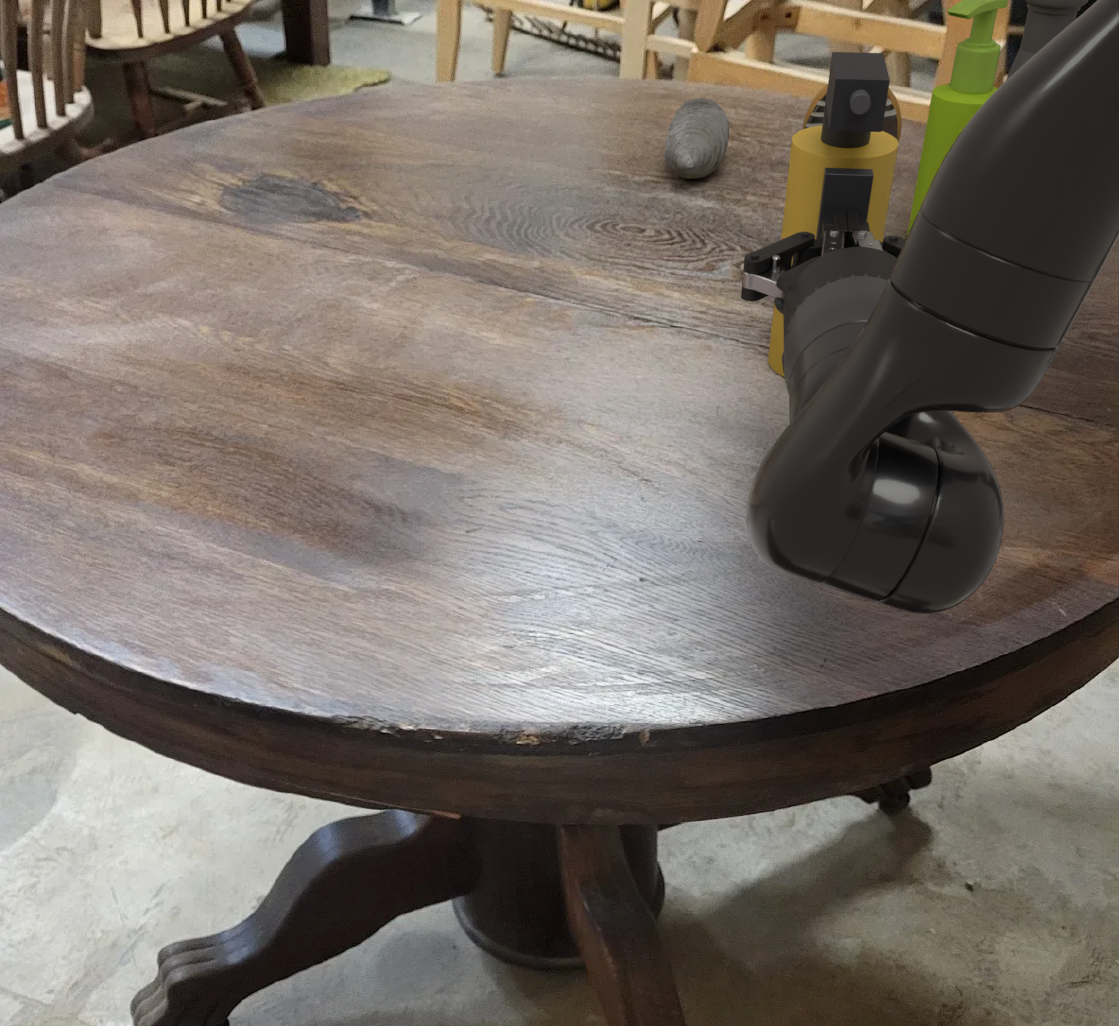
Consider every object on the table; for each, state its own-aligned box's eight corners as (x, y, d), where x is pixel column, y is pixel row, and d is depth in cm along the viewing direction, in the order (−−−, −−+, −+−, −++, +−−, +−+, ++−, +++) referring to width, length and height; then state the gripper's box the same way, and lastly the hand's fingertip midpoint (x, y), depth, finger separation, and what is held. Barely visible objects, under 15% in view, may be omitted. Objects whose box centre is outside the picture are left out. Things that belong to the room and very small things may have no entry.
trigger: (858, 261, 81) (872, 168, 77) (859, 269, 80) (874, 175, 76) (812, 259, 82) (824, 167, 78) (813, 267, 81) (825, 173, 77)
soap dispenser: (883, 253, 108) (926, -1, 95) (930, 233, 111) (977, -15, 98) (940, 273, 104) (992, 12, 91) (986, 252, 108) (1043, -3, 95)
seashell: (651, 165, 117) (675, 75, 115) (659, 176, 130) (680, 95, 127) (715, 183, 117) (740, 93, 114) (716, 192, 130) (739, 111, 127)
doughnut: (796, 180, 122) (808, 71, 116) (799, 167, 125) (811, 61, 118) (892, 186, 120) (910, 76, 114) (893, 173, 123) (910, 66, 117)
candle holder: (972, 207, 116) (1037, -103, 100) (1040, 214, 114) (1117, -100, 98) (967, 231, 111) (1034, -90, 95) (1038, 238, 110) (1118, -86, 94)
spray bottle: (859, 344, 94) (908, 37, 80) (867, 413, 86) (924, 84, 72) (768, 340, 95) (800, 35, 81) (767, 407, 87) (803, 81, 73)
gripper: (1000, 284, 62) (961, 169, 75) (736, 272, 63) (743, 161, 76) (968, 417, 67) (938, 288, 80) (724, 403, 68) (733, 279, 81)
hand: (842, 226), depth 78 cm, fingers closed
